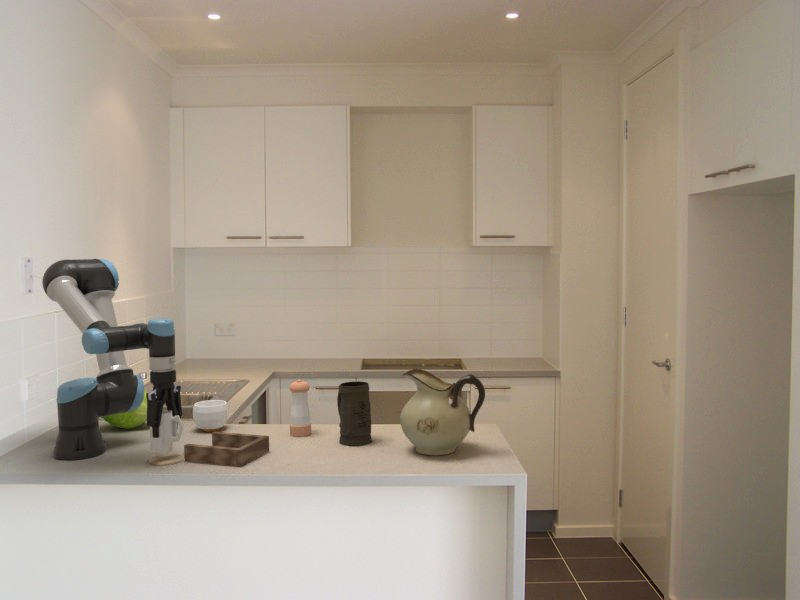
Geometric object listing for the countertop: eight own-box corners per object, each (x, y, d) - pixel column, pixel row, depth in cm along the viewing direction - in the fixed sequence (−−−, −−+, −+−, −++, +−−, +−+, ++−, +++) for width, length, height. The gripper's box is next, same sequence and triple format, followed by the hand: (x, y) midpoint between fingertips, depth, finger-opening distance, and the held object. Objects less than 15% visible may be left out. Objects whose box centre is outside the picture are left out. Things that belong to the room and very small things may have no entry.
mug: (146, 453, 210) (145, 414, 210) (155, 447, 217) (153, 409, 216) (179, 453, 210) (178, 414, 209) (187, 447, 217) (185, 409, 216)
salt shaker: (297, 438, 237) (296, 382, 236) (286, 434, 242) (284, 379, 241) (315, 434, 242) (314, 379, 240) (303, 430, 247) (302, 376, 246)
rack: (184, 461, 212) (184, 445, 212) (215, 446, 228) (215, 431, 227) (241, 466, 206) (241, 450, 205) (269, 451, 222) (268, 435, 221)
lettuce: (137, 440, 245) (135, 400, 242) (91, 430, 252) (89, 391, 249) (167, 424, 261) (166, 385, 257) (124, 415, 267) (122, 377, 264)
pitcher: (389, 445, 226) (388, 369, 224) (454, 437, 235) (453, 363, 233) (418, 464, 205) (417, 380, 204) (488, 454, 215) (487, 374, 213)
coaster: (142, 463, 210) (142, 462, 210) (163, 454, 220) (163, 452, 220) (170, 466, 207) (170, 464, 207) (190, 457, 216) (190, 455, 216)
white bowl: (236, 427, 253) (235, 401, 252) (212, 435, 242) (211, 408, 241) (210, 424, 258) (209, 398, 258) (185, 432, 247) (184, 405, 247)
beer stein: (380, 441, 231) (376, 381, 231) (356, 448, 223) (352, 386, 223) (348, 436, 241) (344, 379, 241) (325, 443, 234) (321, 383, 233)
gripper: (152, 375, 201) (155, 454, 203) (192, 365, 219) (195, 437, 221) (130, 374, 203) (134, 452, 205) (172, 364, 222) (175, 435, 223)
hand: (166, 444), depth 213 cm, fingers closed on mug, 7 cm apart
